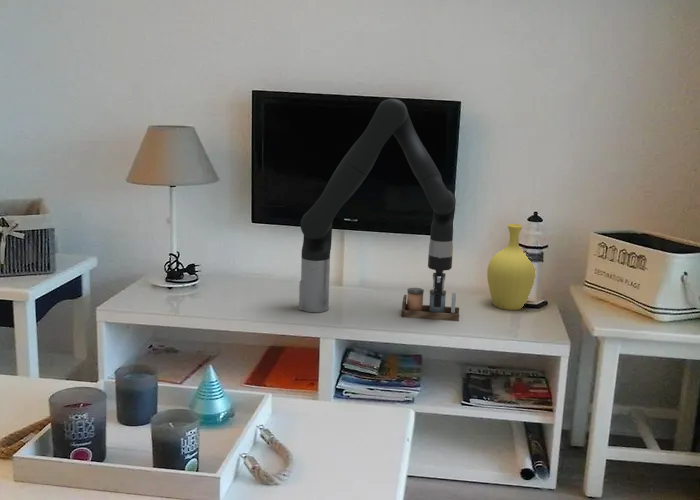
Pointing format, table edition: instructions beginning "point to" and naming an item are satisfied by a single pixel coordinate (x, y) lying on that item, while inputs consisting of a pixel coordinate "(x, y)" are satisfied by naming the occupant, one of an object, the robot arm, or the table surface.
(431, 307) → the jar
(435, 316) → the wooden tray
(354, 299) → the table surface
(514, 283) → the vase
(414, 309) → the jar
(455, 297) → the paddle
